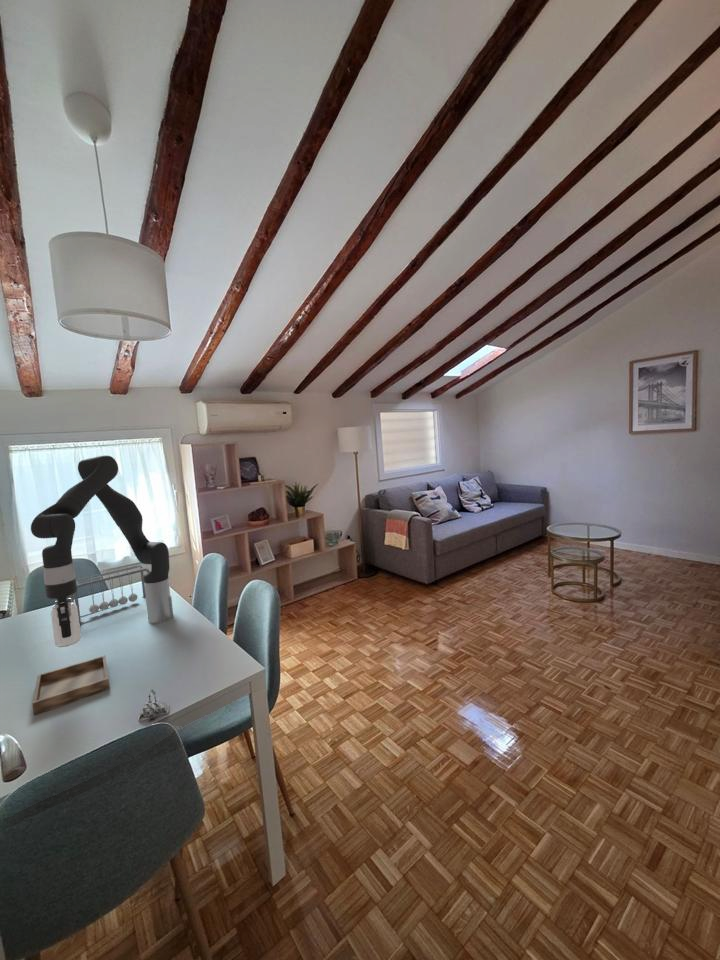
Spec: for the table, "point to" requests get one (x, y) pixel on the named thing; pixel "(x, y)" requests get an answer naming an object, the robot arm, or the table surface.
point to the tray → (70, 684)
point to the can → (73, 625)
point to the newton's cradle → (113, 602)
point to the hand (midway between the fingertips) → (67, 633)
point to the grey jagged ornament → (153, 708)
